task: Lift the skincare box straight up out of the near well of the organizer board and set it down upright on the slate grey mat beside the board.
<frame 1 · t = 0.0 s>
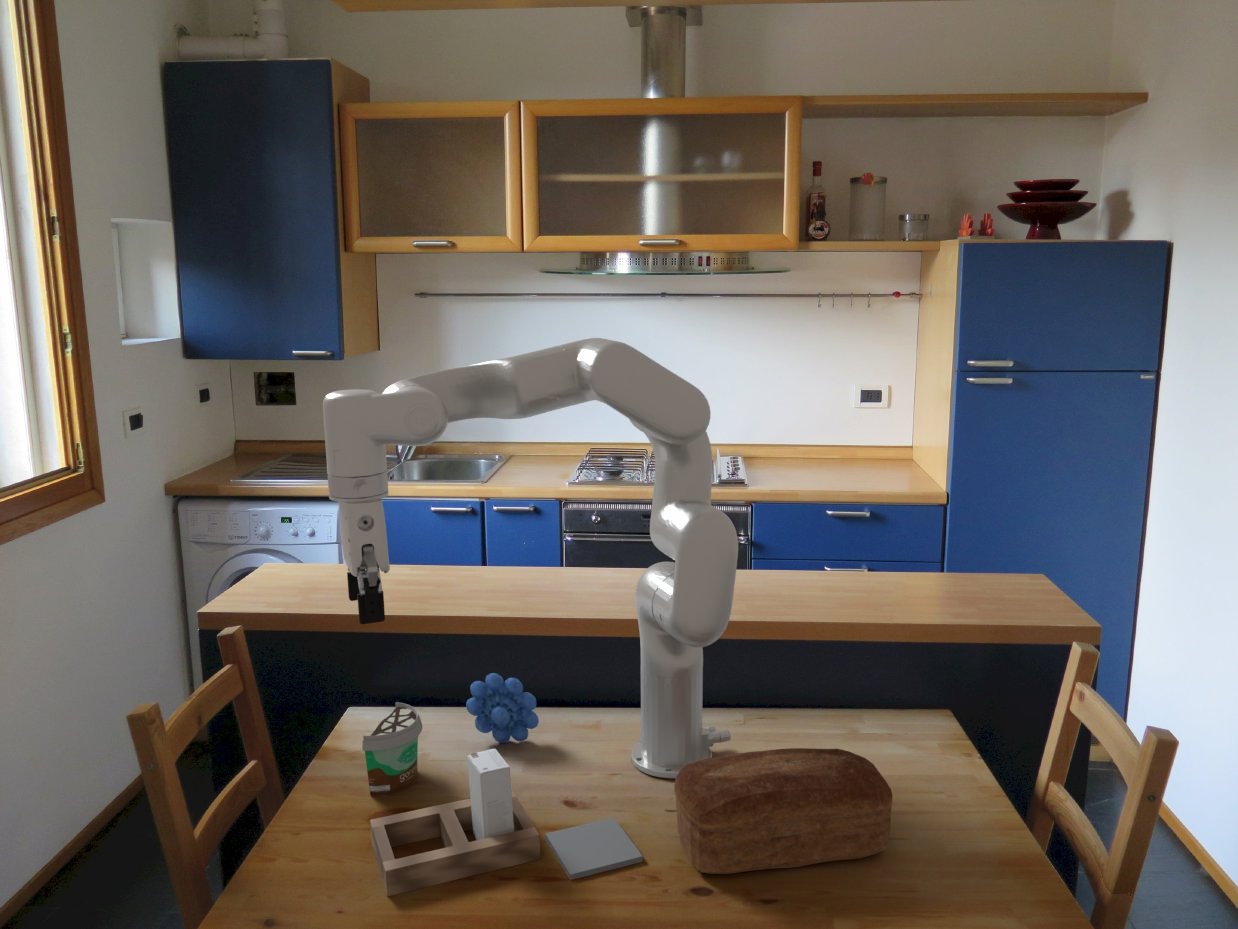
hand: (366, 610, 133), 31 cm above the table, tool pointing down, fingers open, 9 cm apart
blue knobbed wheel: (502, 746, 161), on the table
bread: (780, 847, 133), on the table
food container: (402, 782, 151), on the table
skincare box: (492, 844, 135), resting in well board
mat: (593, 850, 133), on the table
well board: (454, 851, 133), on the table
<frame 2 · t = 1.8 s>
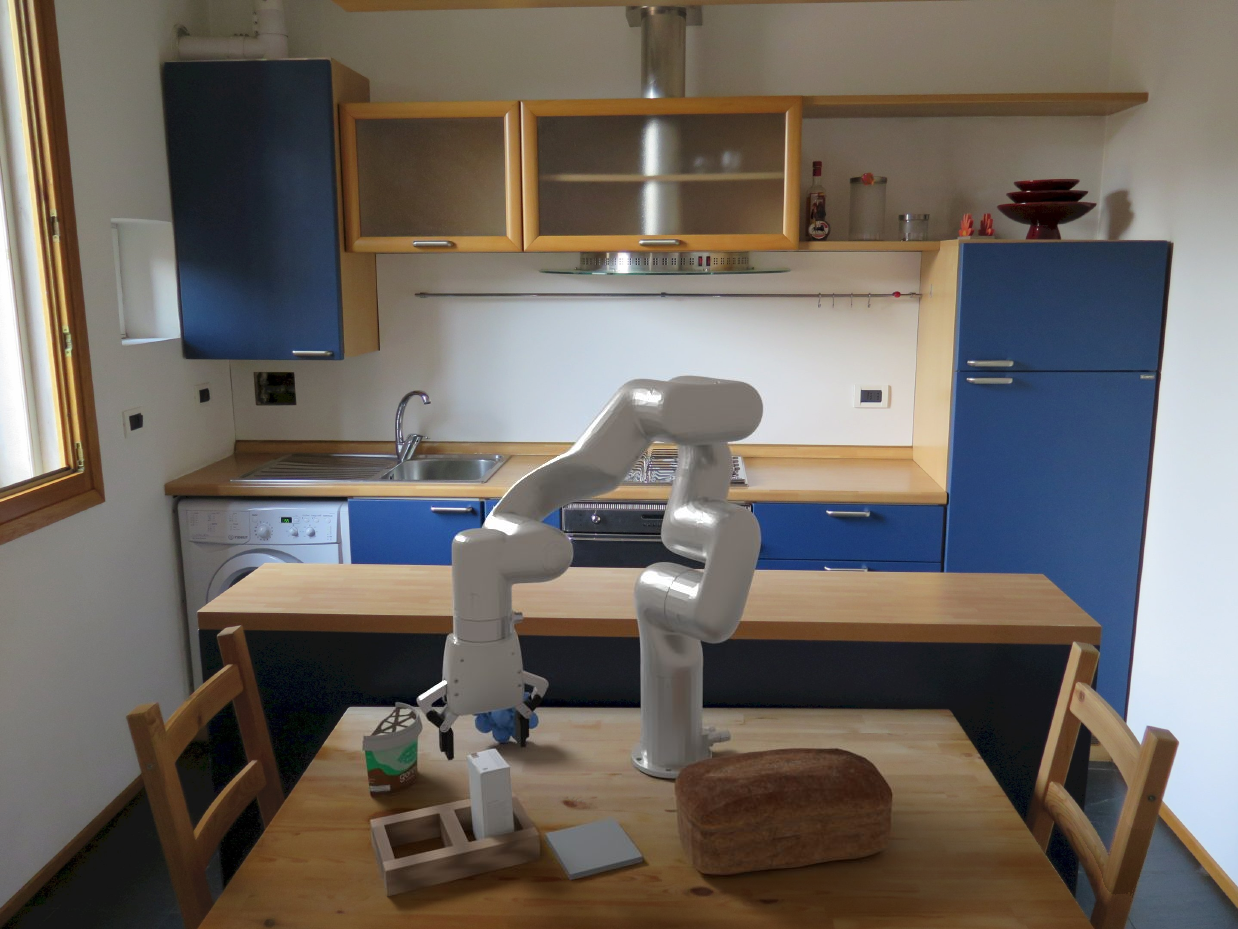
hand: (484, 749, 131), 14 cm above the table, tool pointing down, fingers open, 9 cm apart
nothing on the table moved.
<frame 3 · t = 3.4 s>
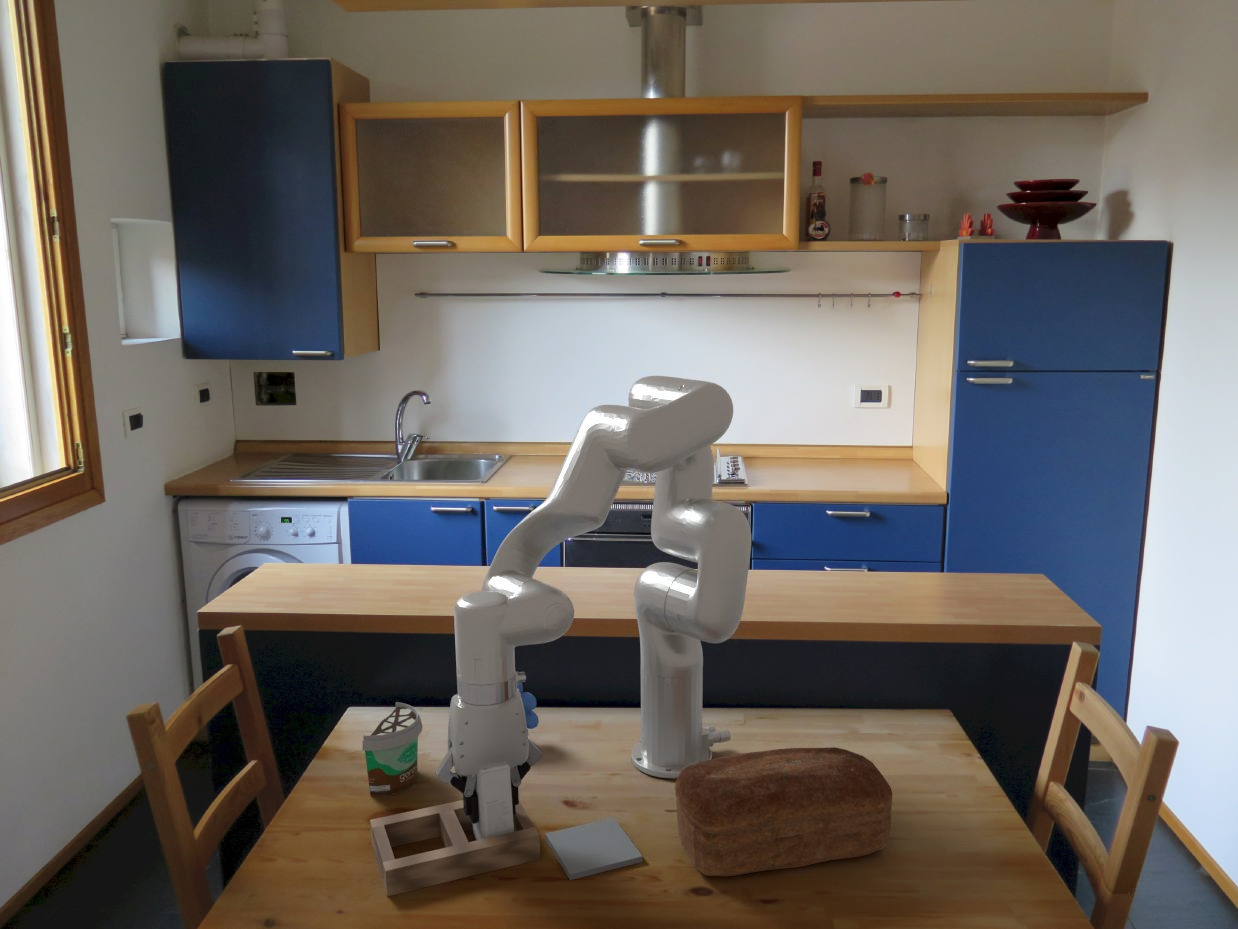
hand: (491, 813, 134), 4 cm above the table, tool pointing down, fingers closed on skincare box, 4 cm apart
skincare box: (492, 844, 135), resting in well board, touching gripper
everything else where it was.
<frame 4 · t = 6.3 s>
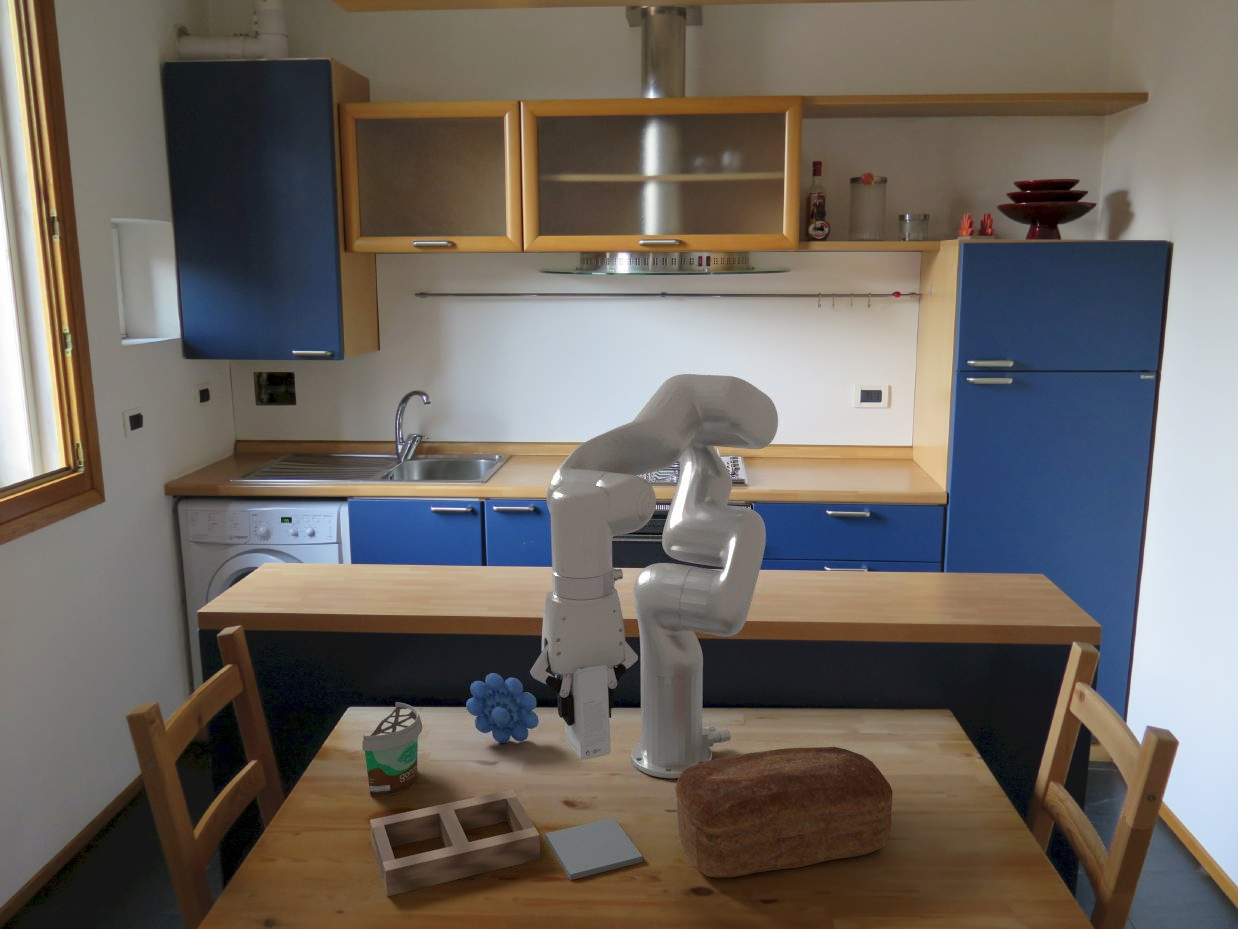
hand: (586, 716, 129), 19 cm above the table, tool pointing down, fingers closed on skincare box, 4 cm apart
skincare box: (586, 749, 130), point 14 cm above the table, touching gripper
everything else where it was.
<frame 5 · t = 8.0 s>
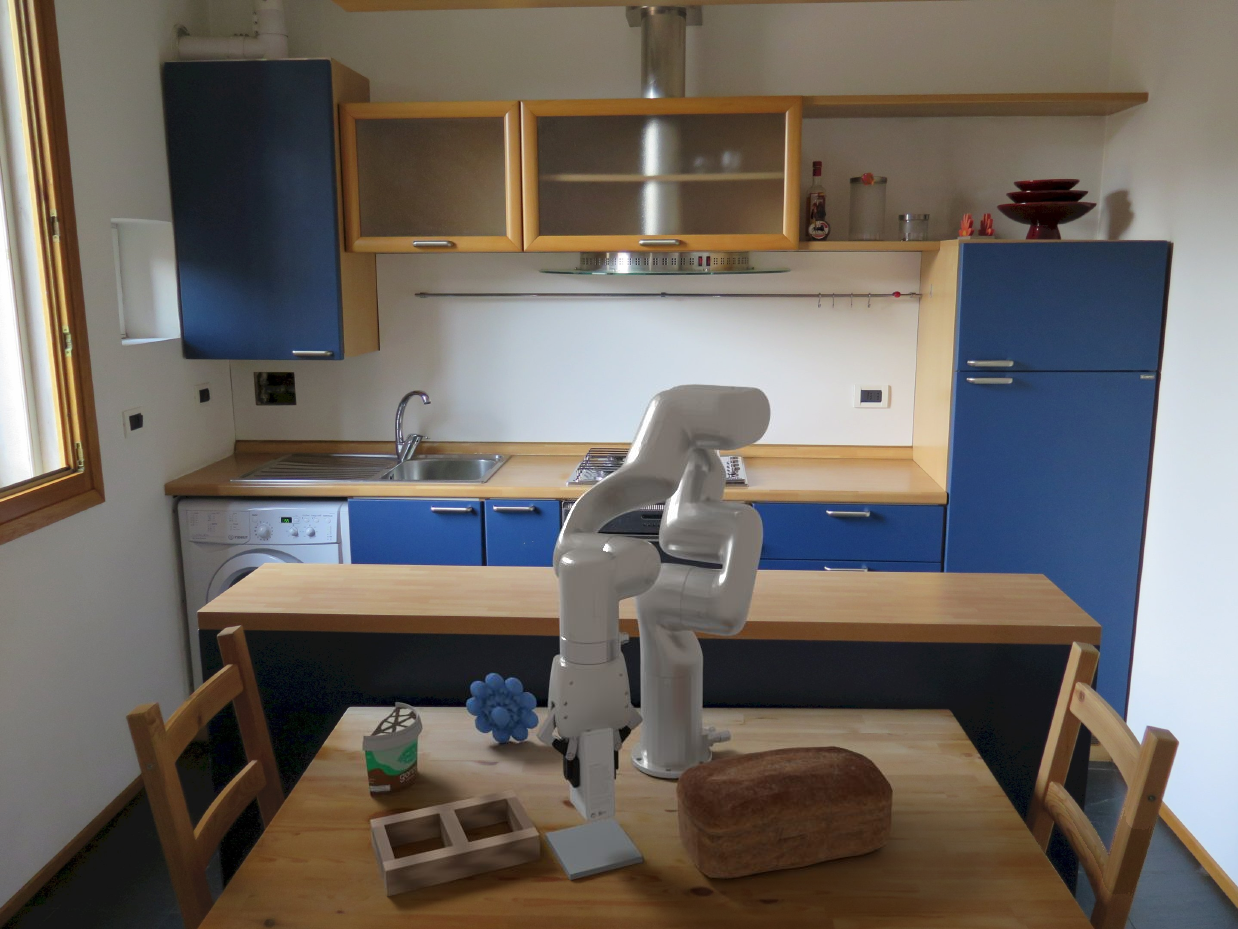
hand: (591, 777, 130), 11 cm above the table, tool pointing down, fingers closed on skincare box, 4 cm apart
skincare box: (591, 810, 131), point 6 cm above the table, touching gripper
everything else where it was.
when the fingers open (6 cm above the table, at t = 9.5 s): skincare box drops 1 cm, resting on mat.
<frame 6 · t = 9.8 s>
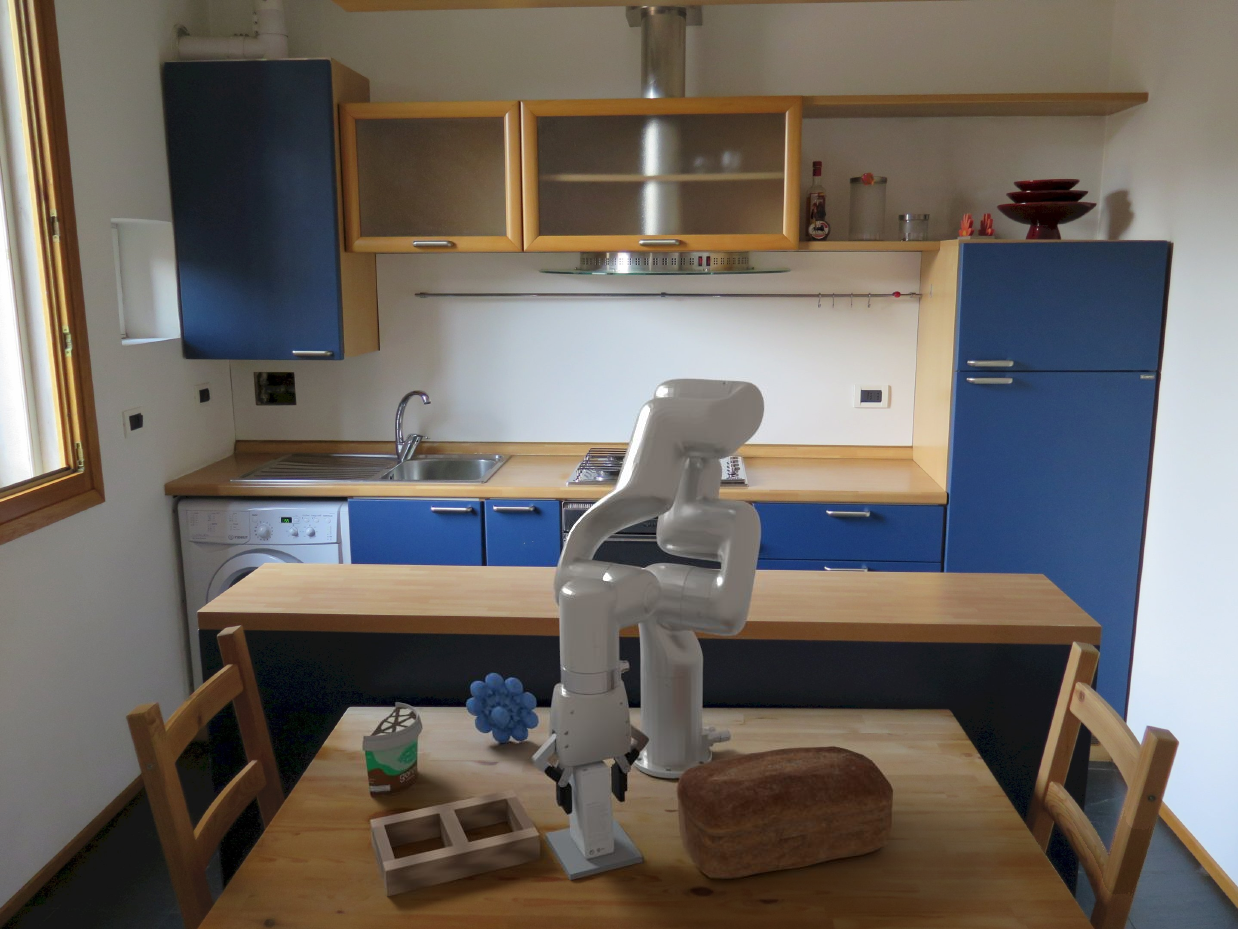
hand: (592, 802, 131), 7 cm above the table, tool pointing down, fingers open, 6 cm apart
skincare box: (590, 845, 132), point 1 cm above the table, touching mat
everything else where it was.
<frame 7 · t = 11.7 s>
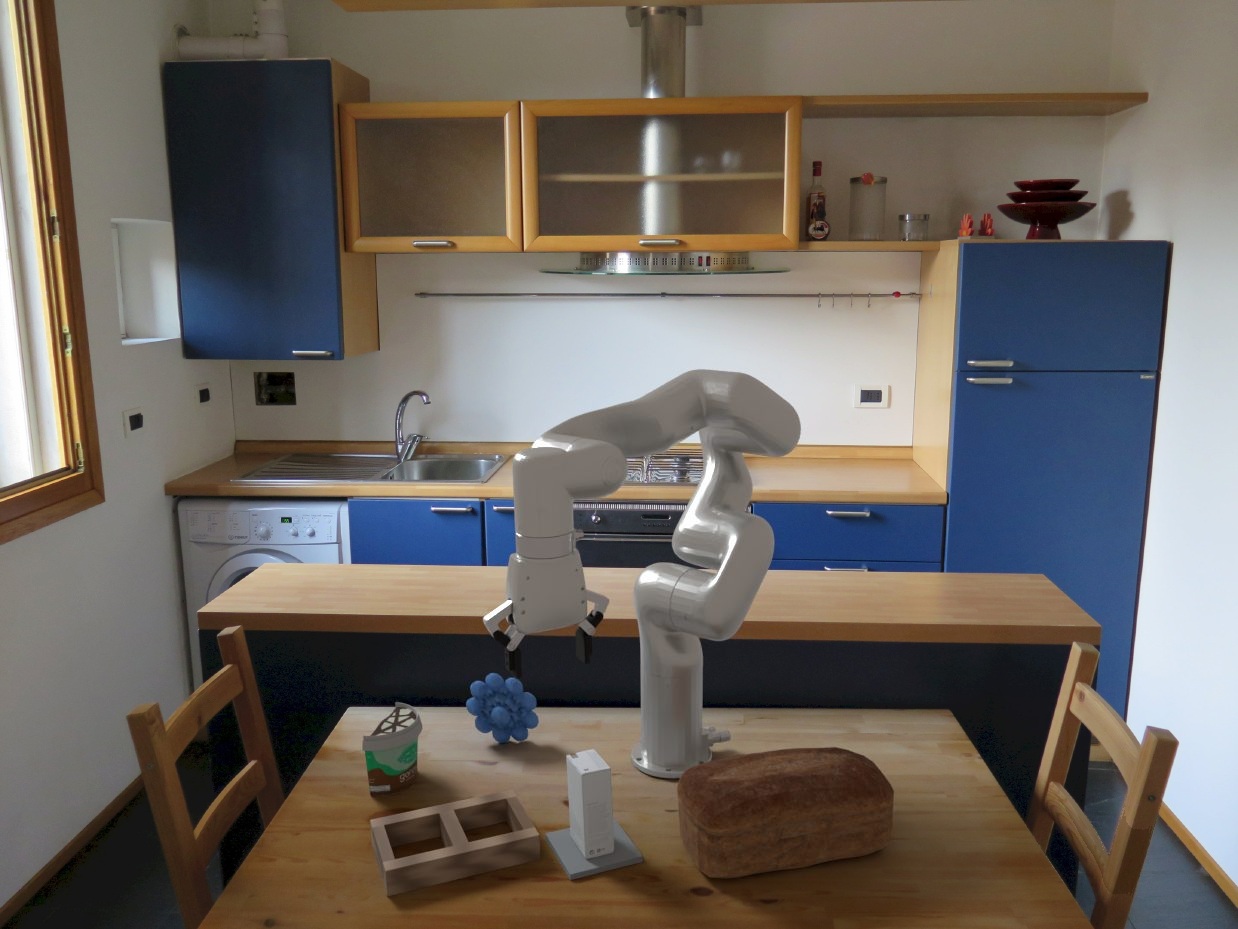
hand: (549, 667, 132), 24 cm above the table, tool pointing down, fingers open, 9 cm apart
nothing on the table moved.
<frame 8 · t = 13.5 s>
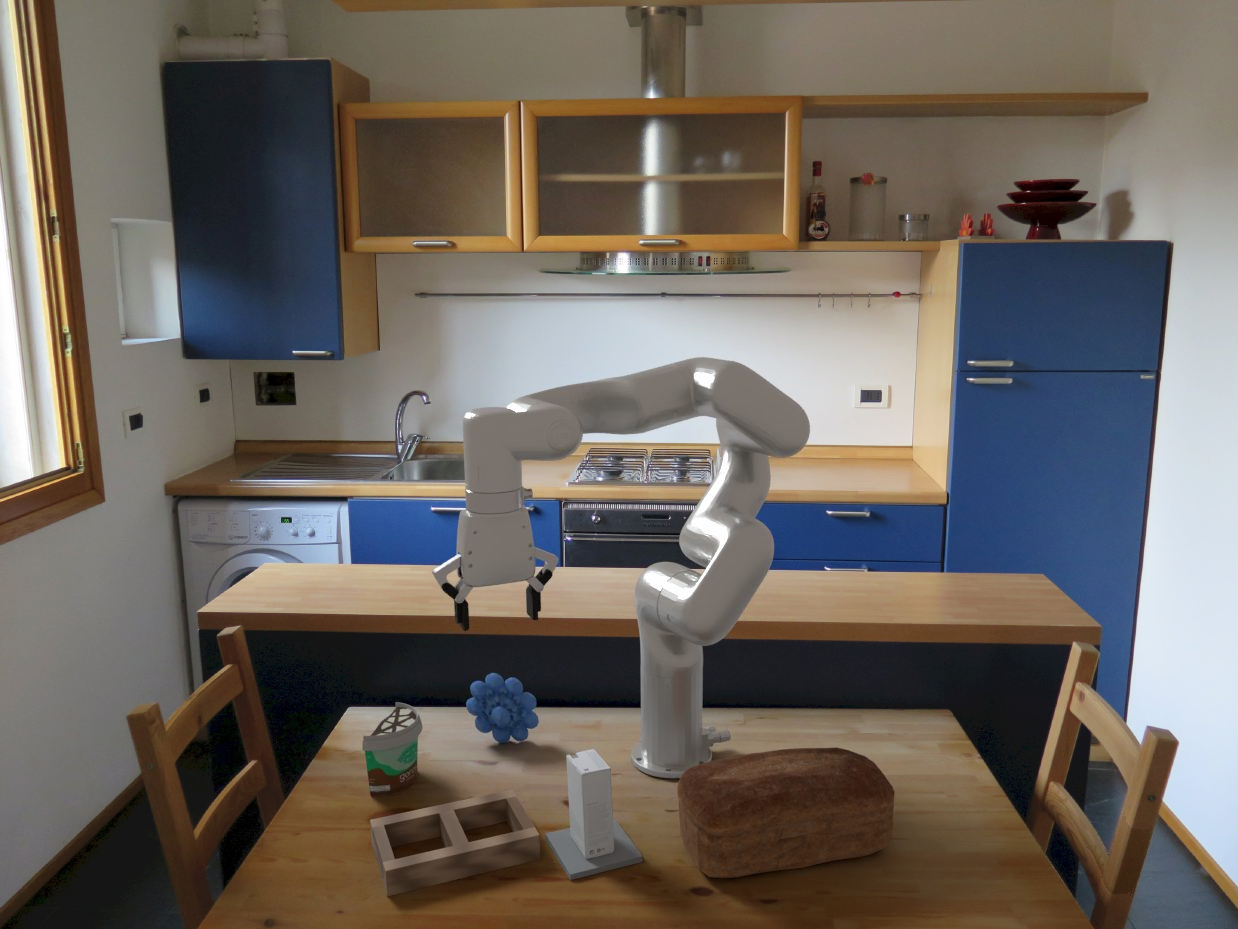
hand: (498, 622, 137), 28 cm above the table, tool pointing down, fingers open, 9 cm apart
nothing on the table moved.
at the end: skincare box inside the target area on the mat (0.3 cm from its centre), point 0.6 cm above the mat's base; skincare box tilted 0°; the gripper is holding nothing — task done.
